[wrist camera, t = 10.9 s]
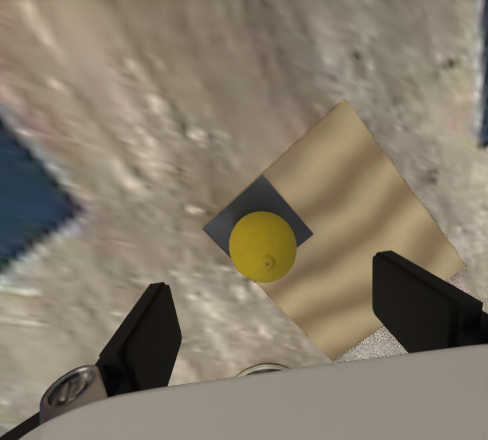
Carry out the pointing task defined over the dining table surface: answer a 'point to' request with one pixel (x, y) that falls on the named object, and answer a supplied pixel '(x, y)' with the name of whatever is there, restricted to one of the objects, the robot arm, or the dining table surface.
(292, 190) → the board
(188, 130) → the dining table surface
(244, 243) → the lemon
